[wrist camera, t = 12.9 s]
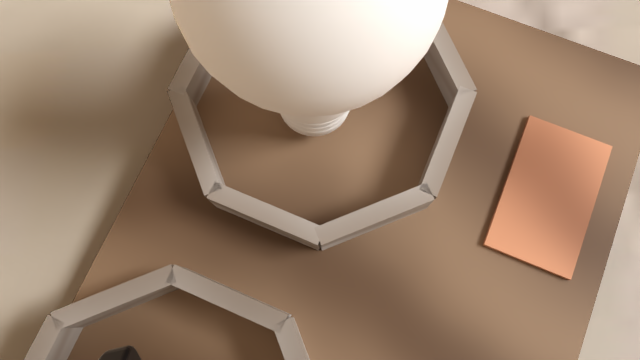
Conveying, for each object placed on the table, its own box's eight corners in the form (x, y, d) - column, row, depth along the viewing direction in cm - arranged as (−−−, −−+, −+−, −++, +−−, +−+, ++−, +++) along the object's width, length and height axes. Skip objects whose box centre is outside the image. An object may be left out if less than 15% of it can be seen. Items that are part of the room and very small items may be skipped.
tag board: (429, 800, 15) (447, 892, 13) (-41, 547, 17) (-103, 586, 15) (647, 85, 20) (689, 54, 18) (268, -52, 22) (260, -96, 20)
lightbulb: (290, 227, 18) (247, 103, 8) (199, 90, 20) (52, -176, 9) (432, 131, 19) (569, -98, 9) (335, 7, 20) (350, -329, 10)
